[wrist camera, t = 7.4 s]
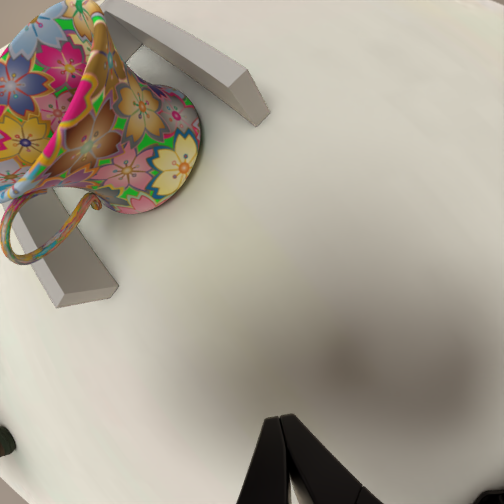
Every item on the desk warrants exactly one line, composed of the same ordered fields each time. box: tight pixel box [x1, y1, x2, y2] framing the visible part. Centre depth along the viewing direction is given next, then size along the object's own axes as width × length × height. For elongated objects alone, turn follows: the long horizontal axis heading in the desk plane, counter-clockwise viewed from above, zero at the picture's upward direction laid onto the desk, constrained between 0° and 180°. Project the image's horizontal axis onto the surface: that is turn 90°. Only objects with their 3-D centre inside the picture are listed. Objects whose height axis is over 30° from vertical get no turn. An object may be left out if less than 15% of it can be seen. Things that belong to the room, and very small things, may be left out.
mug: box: [0, 0, 200, 265], centre depth 14 cm, size 12×9×11 cm
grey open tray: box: [2, 0, 270, 308], centre depth 17 cm, size 14×15×5 cm
